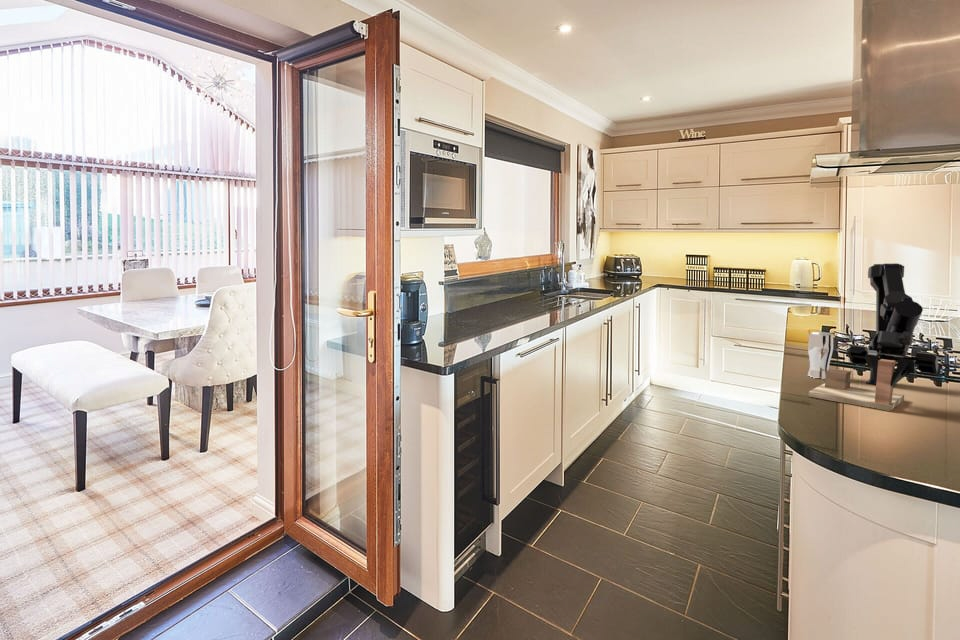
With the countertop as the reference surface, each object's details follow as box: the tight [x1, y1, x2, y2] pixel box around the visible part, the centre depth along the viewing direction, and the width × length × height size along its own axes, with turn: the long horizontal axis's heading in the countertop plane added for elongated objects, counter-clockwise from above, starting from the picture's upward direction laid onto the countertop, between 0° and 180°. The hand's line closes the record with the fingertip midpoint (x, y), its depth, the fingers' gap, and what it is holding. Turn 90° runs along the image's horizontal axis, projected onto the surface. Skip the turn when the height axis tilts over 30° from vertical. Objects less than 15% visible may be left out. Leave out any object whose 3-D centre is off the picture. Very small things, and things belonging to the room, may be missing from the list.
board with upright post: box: [808, 359, 905, 412], centre depth 143 cm, size 15×19×13 cm
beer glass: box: [807, 331, 834, 380], centre depth 168 cm, size 7×7×15 cm
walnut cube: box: [824, 367, 852, 390], centre depth 150 cm, size 5×5×5 cm
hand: (883, 384), depth 133 cm, fingers closed on board with upright post, 3 cm apart
